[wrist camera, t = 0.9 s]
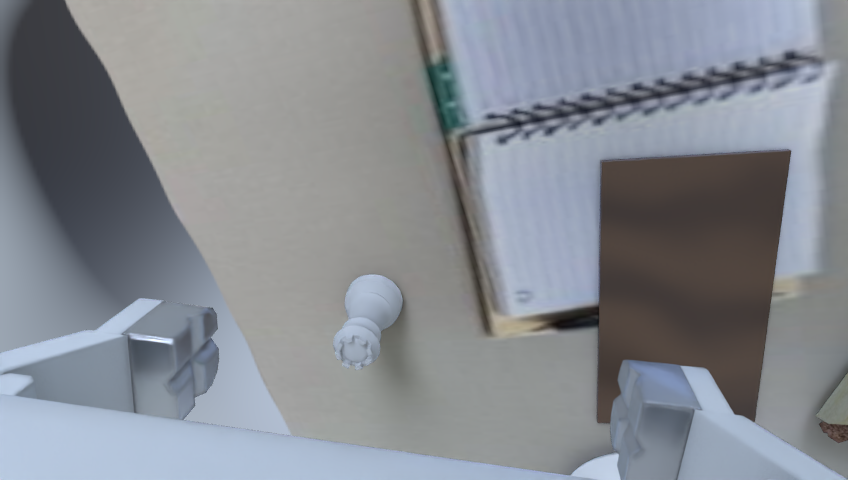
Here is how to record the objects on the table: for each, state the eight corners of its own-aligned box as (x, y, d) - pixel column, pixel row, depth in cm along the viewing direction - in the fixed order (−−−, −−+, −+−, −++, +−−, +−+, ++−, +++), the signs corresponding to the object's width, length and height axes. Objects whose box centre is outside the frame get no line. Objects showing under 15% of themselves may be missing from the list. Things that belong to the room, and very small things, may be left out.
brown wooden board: (600, 160, 43) (601, 161, 42) (788, 149, 41) (791, 150, 41) (597, 419, 51) (597, 423, 51) (752, 419, 50) (754, 422, 49)
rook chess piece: (350, 321, 50) (324, 381, 43) (345, 271, 49) (317, 324, 41) (405, 321, 50) (389, 382, 42) (402, 271, 48) (384, 325, 41)
